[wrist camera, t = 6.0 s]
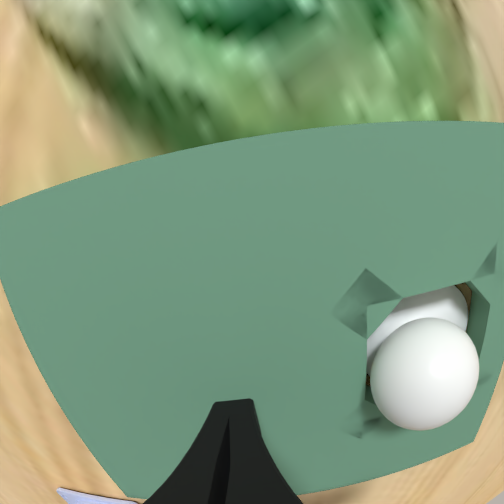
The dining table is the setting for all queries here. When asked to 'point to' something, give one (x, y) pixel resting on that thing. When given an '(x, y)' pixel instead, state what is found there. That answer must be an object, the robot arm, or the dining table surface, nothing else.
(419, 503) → the dining table surface
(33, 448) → the dining table surface
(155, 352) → the green
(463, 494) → the dining table surface
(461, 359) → the ball
